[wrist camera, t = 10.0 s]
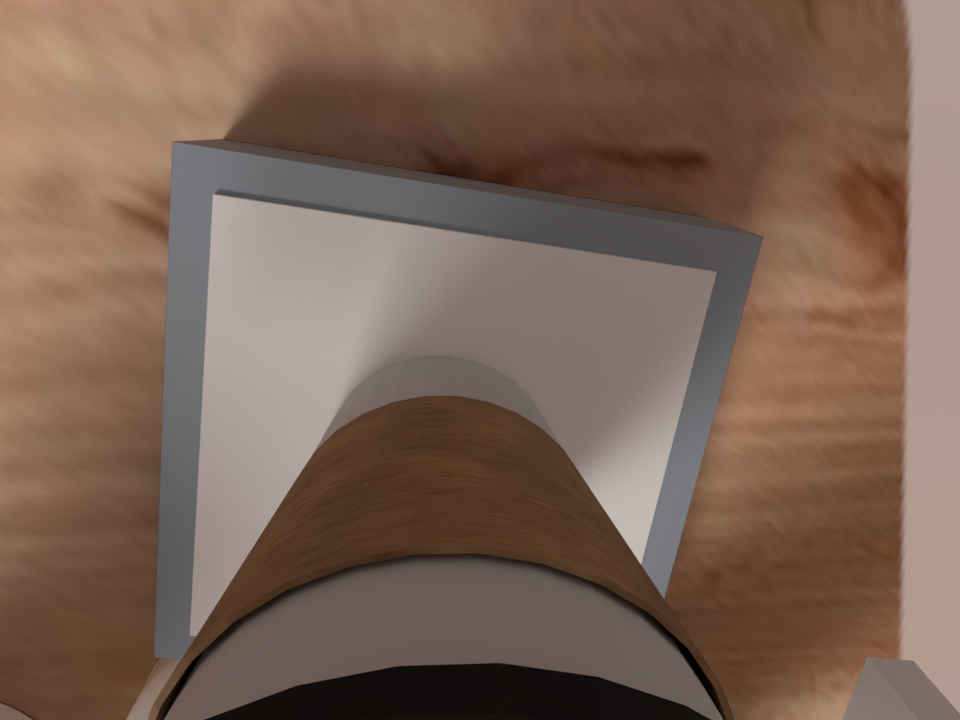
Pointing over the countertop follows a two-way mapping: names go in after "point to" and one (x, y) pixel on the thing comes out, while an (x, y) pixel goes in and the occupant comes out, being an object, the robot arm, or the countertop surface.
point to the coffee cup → (441, 579)
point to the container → (11, 714)
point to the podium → (422, 337)
